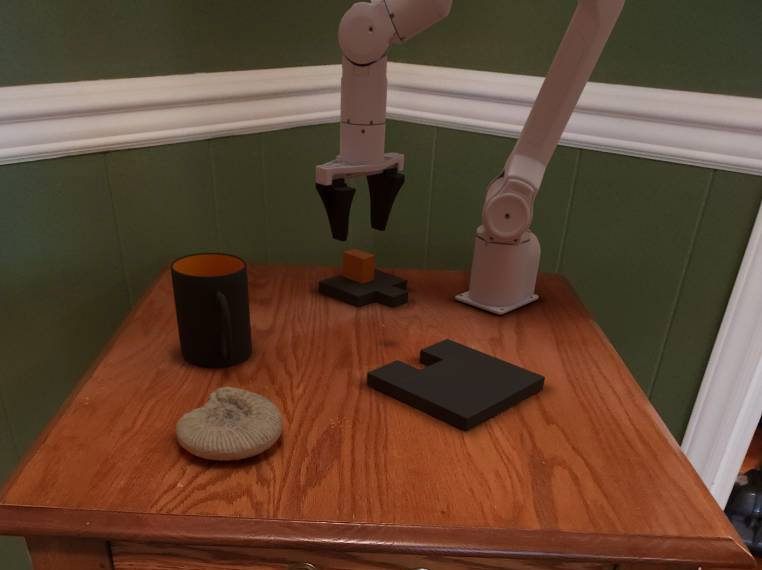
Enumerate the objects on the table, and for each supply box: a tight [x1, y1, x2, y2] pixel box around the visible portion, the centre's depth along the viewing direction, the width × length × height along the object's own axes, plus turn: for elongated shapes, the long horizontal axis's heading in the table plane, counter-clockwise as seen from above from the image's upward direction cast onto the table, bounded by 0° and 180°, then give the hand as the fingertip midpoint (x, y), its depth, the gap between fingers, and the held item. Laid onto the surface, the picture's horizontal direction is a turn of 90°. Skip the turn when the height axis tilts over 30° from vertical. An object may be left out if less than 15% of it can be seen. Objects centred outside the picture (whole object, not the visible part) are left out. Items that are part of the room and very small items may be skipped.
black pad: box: [318, 248, 409, 308], centre depth 102 cm, size 10×11×5 cm
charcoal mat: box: [366, 338, 546, 432], centre depth 81 cm, size 14×14×2 cm
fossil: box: [175, 386, 283, 462], centre depth 70 cm, size 11×4×10 cm
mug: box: [169, 252, 253, 369], centre depth 82 cm, size 8×12×10 cm
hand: (359, 234), depth 100 cm, fingers open, 7 cm apart
